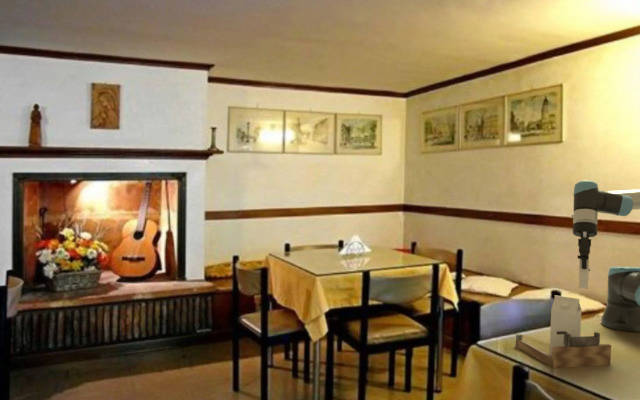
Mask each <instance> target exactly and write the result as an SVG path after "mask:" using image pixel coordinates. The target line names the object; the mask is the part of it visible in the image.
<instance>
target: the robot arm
mask: <svg viewBox="0 0 640 400" xmlns="http://www.w3.org/2000/svg"><path fill="white" fill-rule="evenodd" d="M572 195H573V214H571V218H573V219H572V221H573V224H572V234H573V235H574V236H575V237H578V239H577V240H578V241H577V242H578V243H577V246H578V254H577V259H578V260H579V263H578V264H579V265H578V266H579V267H578V269H579V272H578V275H579V276H578V280H579V281H578V282H579V283H578V287H579V288H578V289H585V290H588V289H589V274H590V273H589V272H590V271H591V268H590V265H589V263H590V261H589V259H590V256H589V255H590V254H591V246H592V238H594V237H596V236H597V235H598V225H597V224H598V213H600V214H608V215H614V216H616V217H617V216H620V217H626V216H629V214H631V213H632V211H633V210H634V211H635V210H640V189H623V190H607V191H606V190H605V191H604V190H602V189H599V186H598V183H597V182H596V181H593V180H580V181H578V182H576V183H575V184H574V188H573V194H572ZM590 238H591V239H590ZM606 297H607V299H606V301H607V303H606V307H605V309H604V311H603V314H602V316H601V318H600V319H601V320H600V324H601V325H603V326H604V327H606V328H610V329H613V330H618V331H624V332H633V333H634V332H635V333H637V332H640V267H637V266H636V267H635V266H634V267H633V266H611V267H609V270H608V274H607V296H606Z"/></svg>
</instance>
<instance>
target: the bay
mask: <svg viewBox="0 0 640 400" xmlns="http://www.w3.org/2000/svg"><path fill="white" fill-rule="evenodd" d="M556 333H557V335H559V334H564V345H565V346H558V347H553V348H552V355H550V353H548V352H546V351H545V350H543V349H540V348H539V347H537V346H535V345H533V344H531V343H530V342H528V341H526V340H525V339H523V334H521V333H516V334H515V347H517V348H519V349H521V350H522V351H524V352H526V353H527V354H529V355H531V356H533V357H534V358H536V359H537V360H539V361H541V362H543V363H545V364H547V365H548V366H550V367H552V369H553V368H554V369H563V368H578V367H579V368H582V367H597V366H598V367H599V366H610V365H611V364H612V363H611V360H612V345H611V344H609V343H604V344H601V341H600V340H601V333H600V332H598V331H596V332H595V331H594V333H593V335H588V336H586V335H585V336H580V337H571V334H567V332H566V331H557V332H556Z"/></svg>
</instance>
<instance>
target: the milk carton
mask: <svg viewBox="0 0 640 400" xmlns="http://www.w3.org/2000/svg"><path fill="white" fill-rule="evenodd" d="M581 325H582V307H581V304H580V298H575V297H568V296H562V295H555V294H554V300H553V303H552V305H551V309H550V333H549V334H550V336H549V354H550V355H552V348H553V347H558V346H565V345H564V334H559V335H557V333H556V332H557V331H566V332H567V334H571V337H581V329H582V327H581Z"/></svg>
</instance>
